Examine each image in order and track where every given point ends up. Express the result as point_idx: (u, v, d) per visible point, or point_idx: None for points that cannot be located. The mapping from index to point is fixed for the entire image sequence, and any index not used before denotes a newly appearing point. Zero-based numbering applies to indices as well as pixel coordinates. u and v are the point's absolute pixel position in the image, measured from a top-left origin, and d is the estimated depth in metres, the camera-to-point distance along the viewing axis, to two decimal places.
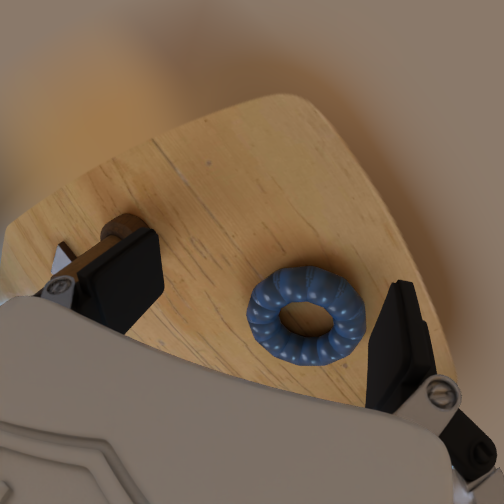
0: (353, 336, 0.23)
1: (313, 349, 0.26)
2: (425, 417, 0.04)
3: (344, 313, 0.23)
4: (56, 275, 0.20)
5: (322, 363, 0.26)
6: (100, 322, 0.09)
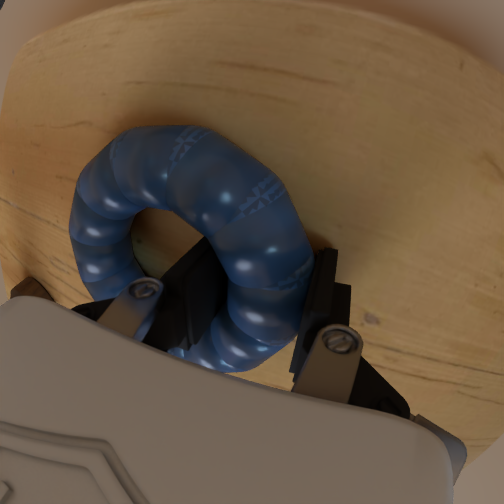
0: (228, 210, 0.08)
1: (224, 318, 0.11)
2: (333, 366, 0.06)
3: (152, 173, 0.08)
4: None
5: (263, 340, 0.10)
6: (184, 325, 0.09)
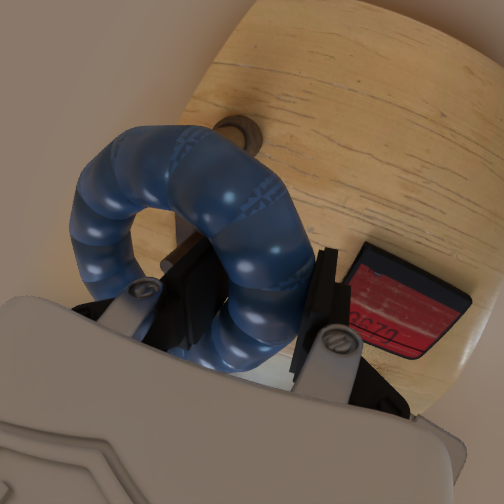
0: (229, 210, 0.08)
1: (225, 318, 0.11)
2: (333, 367, 0.06)
3: (154, 173, 0.08)
4: None
5: (263, 341, 0.10)
6: (184, 325, 0.09)
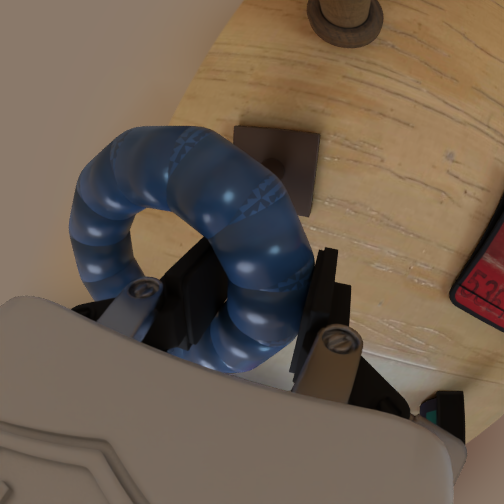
0: (229, 211, 0.08)
1: (224, 318, 0.11)
2: (333, 367, 0.06)
3: (153, 174, 0.08)
4: None
5: (262, 341, 0.10)
6: (184, 325, 0.09)
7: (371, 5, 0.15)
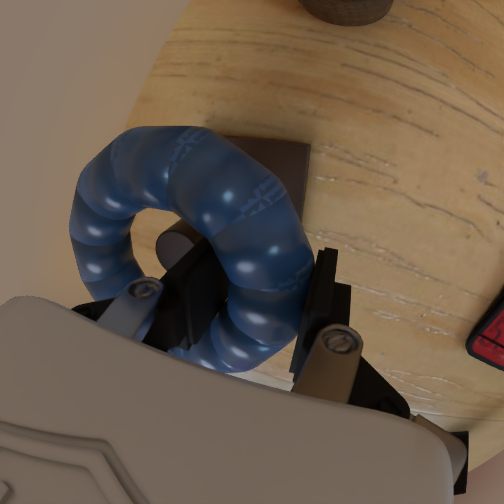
0: (229, 211, 0.08)
1: (224, 318, 0.11)
2: (333, 366, 0.06)
3: (153, 174, 0.08)
4: None
5: (262, 341, 0.10)
6: (184, 325, 0.09)
7: None
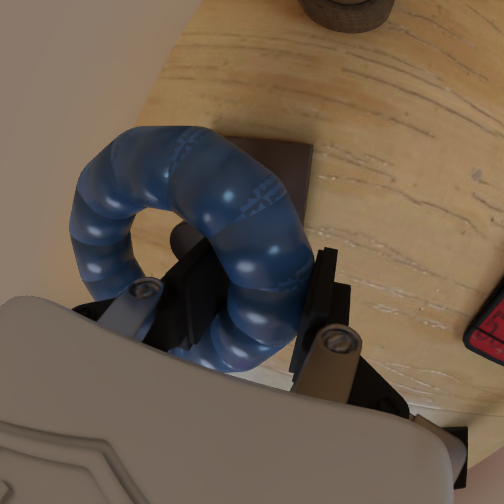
0: (229, 211, 0.08)
1: (224, 318, 0.11)
2: (332, 366, 0.06)
3: (153, 174, 0.08)
4: None
5: (262, 341, 0.10)
6: (185, 325, 0.09)
7: None
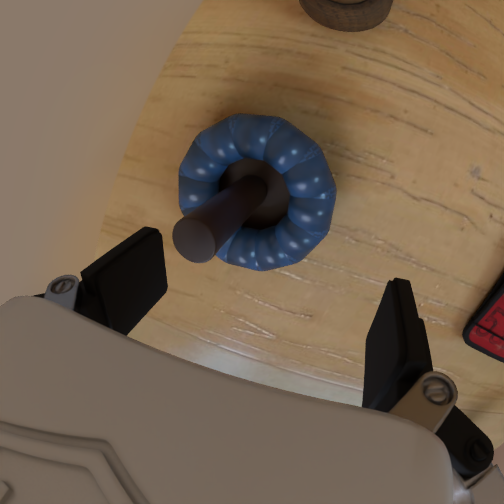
0: (298, 157, 0.16)
1: (286, 222, 0.19)
2: (421, 414, 0.04)
3: (257, 137, 0.16)
4: None
5: (310, 231, 0.18)
6: (104, 321, 0.09)
7: None
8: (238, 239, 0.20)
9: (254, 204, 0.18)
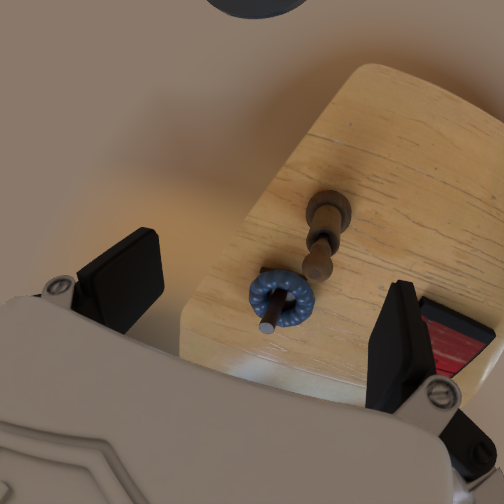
0: (300, 292, 0.44)
1: (294, 311, 0.47)
2: (425, 417, 0.04)
3: (285, 284, 0.45)
4: (312, 229, 0.32)
5: (303, 316, 0.46)
6: (100, 322, 0.09)
7: (344, 216, 0.38)
8: None
9: (283, 306, 0.47)
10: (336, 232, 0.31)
